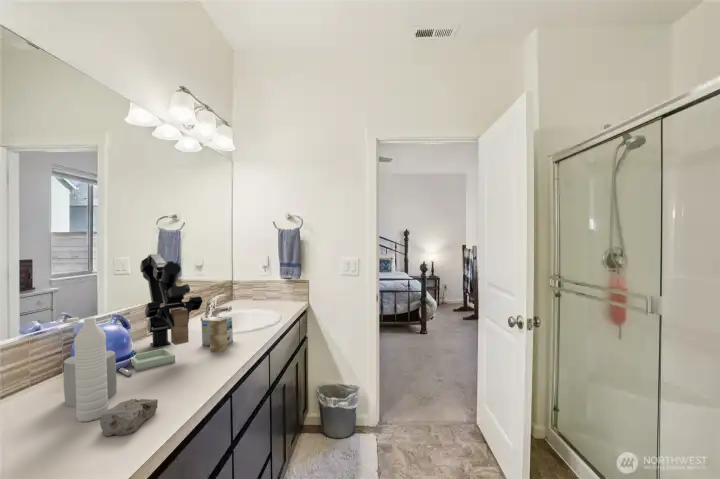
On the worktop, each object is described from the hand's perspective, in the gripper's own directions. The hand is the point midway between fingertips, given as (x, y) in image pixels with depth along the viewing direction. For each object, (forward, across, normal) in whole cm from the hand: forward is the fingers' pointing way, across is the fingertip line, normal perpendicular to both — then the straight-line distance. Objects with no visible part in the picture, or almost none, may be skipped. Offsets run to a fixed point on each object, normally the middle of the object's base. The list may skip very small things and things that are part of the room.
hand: (180, 324), depth 131 cm
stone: (+36, -24, -17) cm, 46 cm away
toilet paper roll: (+18, -28, +1) cm, 33 cm away
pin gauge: (+8, -17, +11) cm, 22 cm away
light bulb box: (+1, +19, +18) cm, 26 cm away
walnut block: (+4, 0, +6) cm, 7 cm away
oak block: (+7, +15, +12) cm, 21 cm away
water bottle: (+27, -31, -8) cm, 42 cm away
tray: (+4, -8, +15) cm, 17 cm away
